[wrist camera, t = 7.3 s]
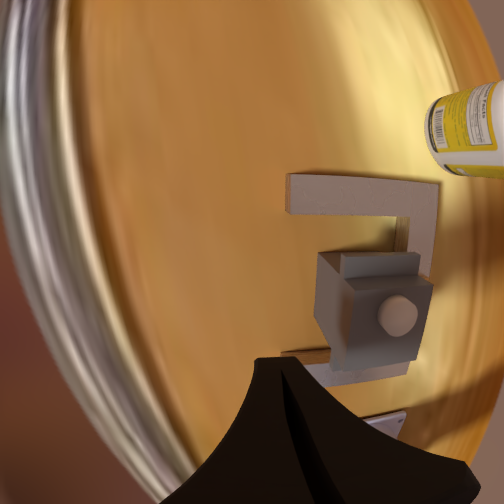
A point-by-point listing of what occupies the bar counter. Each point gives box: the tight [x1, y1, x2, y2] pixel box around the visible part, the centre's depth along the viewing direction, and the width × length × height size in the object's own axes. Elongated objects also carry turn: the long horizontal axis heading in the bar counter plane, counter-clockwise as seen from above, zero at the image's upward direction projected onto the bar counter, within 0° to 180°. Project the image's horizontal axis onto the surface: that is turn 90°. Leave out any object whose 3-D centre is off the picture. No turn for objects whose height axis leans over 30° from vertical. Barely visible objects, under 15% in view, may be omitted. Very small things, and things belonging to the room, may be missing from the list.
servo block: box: [314, 251, 433, 372], centre depth 15 cm, size 6×4×7 cm, turn 0°
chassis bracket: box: [280, 174, 439, 387], centre depth 17 cm, size 13×9×2 cm
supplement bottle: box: [424, 80, 504, 179], centre depth 11 cm, size 5×5×10 cm
